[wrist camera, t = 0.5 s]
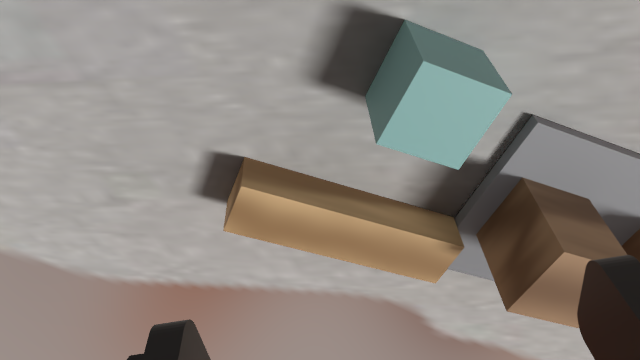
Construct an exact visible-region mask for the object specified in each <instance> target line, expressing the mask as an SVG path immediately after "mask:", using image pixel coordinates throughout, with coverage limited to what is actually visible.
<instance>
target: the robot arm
mask: <svg viewBox="0 0 640 360" xmlns="http://www.w3.org/2000/svg"><path fill="white" fill-rule="evenodd" d="M577 318H578V324H579V328H580V332H581V334H582V337H583V339H584V341H585V343H586V345H587V347H588V348H589V350H590V352H591V354H592V355H593V357H594V359H595V360H640V262H639V261H638V260H637V259H636V258H635V257H633V256H631V255H624V256H617V257H610V258H604V259H597V260H591V261H589V262H588V263H587V265H586V268H585V273H584V279H583V284H582V289H581V294H580V299H579V304H578V310H577ZM127 360H210V357H209V355H208V353H207V351H206V349H205V346H204V344H203V342H202V339H201V337H200V335H199V333H198V330H197V328H196V326H195V324H194V322H193V321H192V320H183V321H177V322H170V323H163V324H158V325H154V326H153V327H152V328H151V330H150V333H149V337H148V341H147V344H146V348H145V352H144V354H138V355H131V356H129V358H128V359H127Z"/></svg>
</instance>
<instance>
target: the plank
mask: <svg viewBox="0 0 640 360" xmlns="http://www.w3.org/2000/svg"><path fill="white" fill-rule="evenodd" d="M223 231H226V232H230V233H234V234H238V235H242V236H246V237H250V238H254V239H258V240H263V241H267V242H271V243H275V244H279V245H283V246H287V247H291V248H295V249H299V250H303V251H307V252H311V253H315V254H319V255H323V256H327V257H331V258H335V259H339V260H343V261H347V262H351V263H355V264H359V265H363V266H367V267H371V268H376V269H380V270H384V271H388V272H392V273H396V274H400V275H404V276H408V277H412V278H416V279H420V280H424V281H428V282H432V283H436V282H437V281H438V280H439V279H440V277H441V276H442V275H443V274H444V272H445V271H446V270H447V269H448V267H449V266H450V265H451V264H452V262H453V261H454V260H455V259H456V257H457V256H458V255H459V254H460V252H461V251H462V250H463V249H464V248H465V247H464V244H463V242H462V239H461V236H460V233H459V231H458V228H457V225H456V222H455V220H454V217H451V216H448V215H444V214H441V213H437V212H434V211H430V210H427V209H423V208H420V207H416V206H413V205H409V204H406V203H403V202H399V201H396V200H392V199H389V198H385V197H382V196H378V195H375V194H371V193H368V192H364V191H361V190H357V189H354V188H351V187H347V186H344V185H340V184H337V183H333V182H330V181H326V180H323V179H319V178H316V177H312V176H309V175H305V174H302V173H299V172H295V171H292V170H288V169H285V168H281V167H278V166H274V165H271V164H267V163H264V162H260V161H257V160H253V159H250V158H247V157H244V160H243V162H242V165H241V167H240V170H239V173H238V175H237V178H236V180H235V183H234V185H233V188H232V190H231V193H230V196H229V198H228V201H227V208H226V216H225V223H224V230H223Z"/></svg>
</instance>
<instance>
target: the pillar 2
mask: <svg viewBox="0 0 640 360" xmlns="http://www.w3.org/2000/svg"><path fill="white" fill-rule="evenodd" d="M622 248H623V249H624V251H625V252H626V253H627V255H631V256H633V257H635V258H636V259H637V260H638V261H639V262H640V229H639V230H638V231H637V232H636V233H635V234H634V235H632V236H631V237H630V238H629V239H628V240H627V241H626V242H625V243H624V244H623V245H622Z"/></svg>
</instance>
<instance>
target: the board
mask: <svg viewBox="0 0 640 360" xmlns="http://www.w3.org/2000/svg"><path fill="white" fill-rule="evenodd" d="M522 177H523V178H526V179H529V180H532V181H535V182H538V183H541V184H544V185H547V186H551V187H554V188H557V189H560V190H563V191H566V192H569V193H572V194H575V195H578V196H581V197H584V198H587V199H589V200H590V201H591V203H592V204H593V206H594V207H595V208H596V210H597V211H598V213H599V214H600V216H601V217H602V219H603V220H604V222H605V223H606V224H607V226H608V227H609V229H610V230H611V232H612V233H613V235H614V236H615V238H616V239H617V240H618V242H619V243H620V245H621V246H622V245H623V244H624V243H625V242H626V241H627V240H628V239H629V238H630V237H631V236H632V235H634V234H635V233H636V232H637V231H638V230H639V229H640V154H638V153H635V152H633V151H630V150H627V149H625V148H622V147H619V146H616V145H614V144H611V143H608V142H605V141H603V140H600V139H597V138H595V137H592V136H589V135H586V134H584V133H581V132H578V131H575V130H573V129H570V128H567V127H565V126H562V125H559V124H556V123H554V122H551V121H548V120H546V119H543V118H540V117H537V116H535V115H532V116H531V118H530V119H529V120H528V122H527V123H526V124H525V126H524V127H523V128H522V130H521V131H520V132H519V134H518V135H517V136H516V138H515V139H514V140H513V142H512V143H511V144H510V145H509V147H508V148H507V149H506V151H505V152H504V153H503V155H502V156H501V157H500V159H499V160H498V161H497V163H496V164H495V165H494V167H493V168H492V169H491V171H490V172H489V173H488V175H487V176H486V177H485V179H484V180H483V181H482V183H481V184H480V185H479V187H478V188H477V189H476V191H475V192H474V193H473V195H472V196H471V197H470V199H469V200H468V201H467V202H466V204H465V205H464V206H463V208H462V209H461V210H460V212H459V213H458V214H457V216H456V217H455V218H454V220H455V222H456V225H457V228H458V231H459V233H460V236H461V239H462V242H463V244H464V247H465V248H464V249H463V250H462V251H461V252H460V254H459V255H458V256H457V257H456V259H455V260H454V261H453V262H452V264H451V265H450V266H449V267H448V269H449V270H453V271H457V272H461V273H465V274H469V275H473V276H477V277H481V278H484V279H488V280H492V281H494V278H493V276H492V273H491V271H490V268H489V266H488V263H487V261H486V258H485V256H484V253H483V251H482V248H481V246H480V243H479V241H478V238H477V236H476V234H477V233H478V232H479V230H480V229H481V228H482V227H483V225H484V224H485V223H486V222H487V220H488V219H489V218H490V217H491V215H492V214H493V213H494V212H495V211H496V209H497V208H498V207H499V206H500V204H501V203H502V202H503V201H504V199H505V198H506V197H507V196H508V194H509V193H510V192H511V191H512V189H513V188H514V187H515V186H516V185H517V183H518V182H519V181H520V180H521V178H522Z"/></svg>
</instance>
